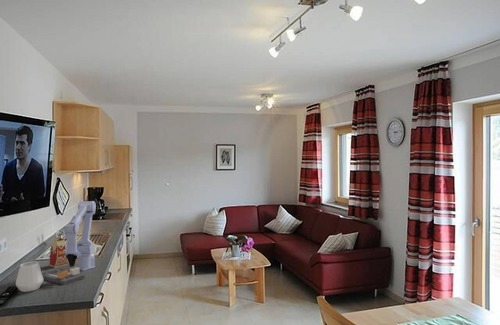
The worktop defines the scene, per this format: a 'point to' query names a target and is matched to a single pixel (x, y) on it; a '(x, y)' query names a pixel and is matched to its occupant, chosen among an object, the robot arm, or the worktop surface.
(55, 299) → the worktop surface
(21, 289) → the cup
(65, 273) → the fader orange
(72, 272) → the block
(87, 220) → the robot arm
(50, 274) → the mixing panel
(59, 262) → the milk carton
